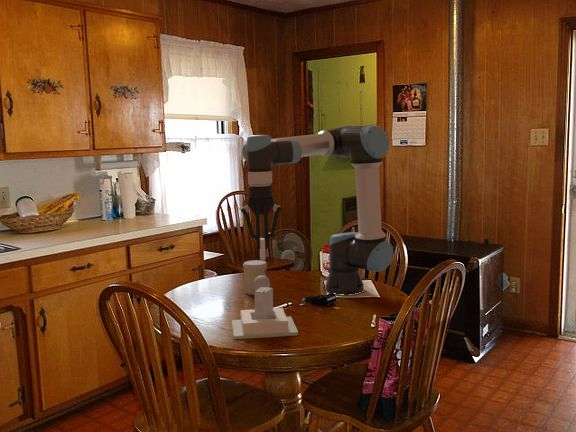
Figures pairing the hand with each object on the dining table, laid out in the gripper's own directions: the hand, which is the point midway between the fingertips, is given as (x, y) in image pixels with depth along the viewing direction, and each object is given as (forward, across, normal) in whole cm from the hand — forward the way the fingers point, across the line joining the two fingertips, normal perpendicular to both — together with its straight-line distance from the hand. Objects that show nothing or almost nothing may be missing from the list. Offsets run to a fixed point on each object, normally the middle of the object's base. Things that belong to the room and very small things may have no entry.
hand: (262, 258), depth 186 cm
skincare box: (+22, 0, 0) cm, 22 cm away
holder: (+23, 0, 0) cm, 23 cm away
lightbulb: (+23, -2, -27) cm, 36 cm away
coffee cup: (+24, -1, -45) cm, 51 cm away
